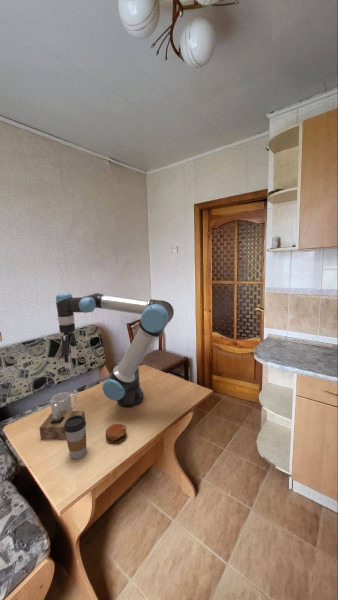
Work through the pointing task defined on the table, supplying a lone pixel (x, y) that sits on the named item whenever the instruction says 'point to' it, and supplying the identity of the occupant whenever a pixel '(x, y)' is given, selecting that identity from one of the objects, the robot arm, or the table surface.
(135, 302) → the robot arm
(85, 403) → the table surface
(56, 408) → the pin
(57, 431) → the socket block
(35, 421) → the table surface
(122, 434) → the burger
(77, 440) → the coffee cup
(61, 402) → the mug
